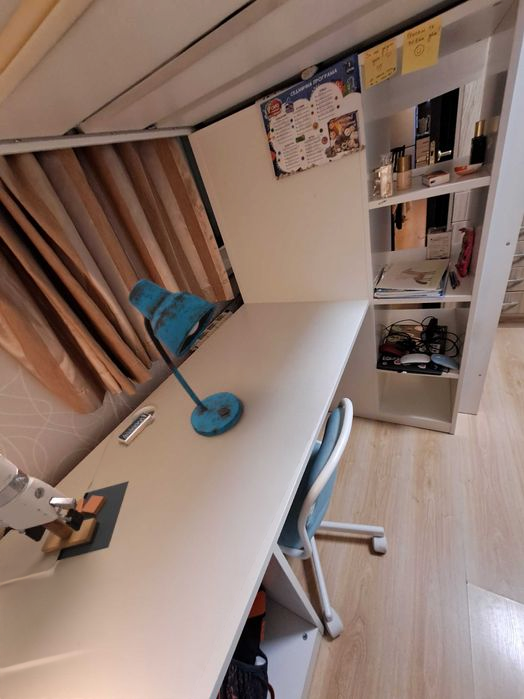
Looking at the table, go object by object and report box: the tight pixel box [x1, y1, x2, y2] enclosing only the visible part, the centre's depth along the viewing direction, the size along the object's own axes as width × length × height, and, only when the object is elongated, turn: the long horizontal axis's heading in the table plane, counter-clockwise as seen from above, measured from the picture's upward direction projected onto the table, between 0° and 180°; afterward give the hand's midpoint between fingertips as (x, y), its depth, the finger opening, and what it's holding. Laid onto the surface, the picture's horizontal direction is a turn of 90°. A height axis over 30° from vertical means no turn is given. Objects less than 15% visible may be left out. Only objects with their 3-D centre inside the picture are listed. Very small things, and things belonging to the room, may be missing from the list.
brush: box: [40, 518, 100, 554], centre depth 65 cm, size 11×4×9 cm, turn 96°
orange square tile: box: [82, 495, 107, 515], centre depth 73 cm, size 4×4×1 cm
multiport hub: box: [117, 412, 155, 446], centre depth 93 cm, size 4×11×2 cm, turn 150°
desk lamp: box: [127, 278, 243, 437], centre depth 76 cm, size 16×22×45 cm
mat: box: [55, 480, 130, 562], centre depth 71 cm, size 20×16×1 cm
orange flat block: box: [65, 497, 87, 515], centre depth 73 cm, size 4×4×1 cm
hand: (61, 529), depth 65 cm, fingers open, 9 cm apart
